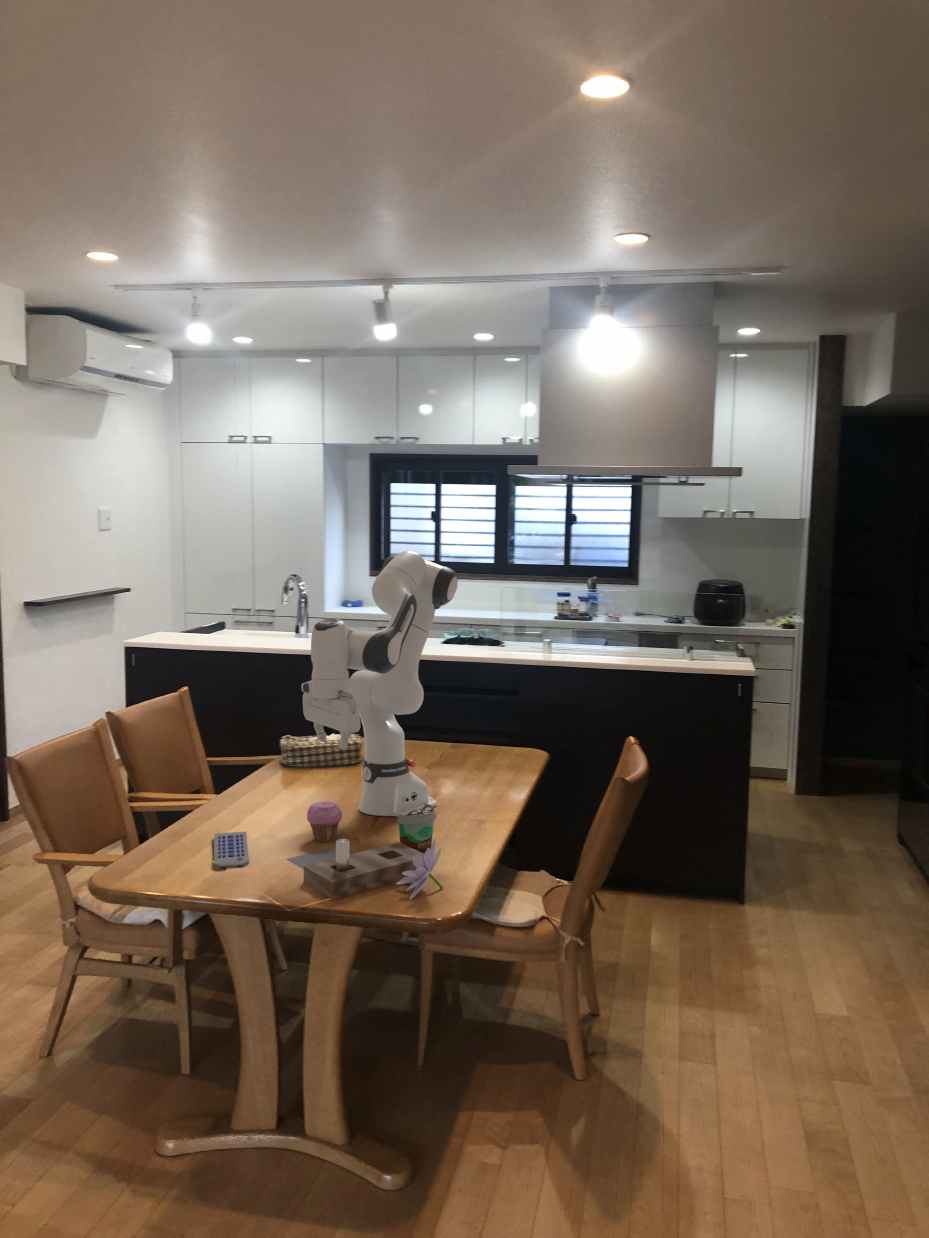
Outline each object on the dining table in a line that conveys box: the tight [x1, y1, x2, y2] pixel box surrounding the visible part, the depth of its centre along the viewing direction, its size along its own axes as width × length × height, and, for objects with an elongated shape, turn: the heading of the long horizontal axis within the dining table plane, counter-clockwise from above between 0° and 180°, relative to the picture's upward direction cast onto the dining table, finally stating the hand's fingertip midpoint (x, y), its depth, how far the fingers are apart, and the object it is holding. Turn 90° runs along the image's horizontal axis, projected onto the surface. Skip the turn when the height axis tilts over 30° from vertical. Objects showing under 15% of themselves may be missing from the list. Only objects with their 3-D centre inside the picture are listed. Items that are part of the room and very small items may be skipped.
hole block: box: [303, 841, 425, 901], centre depth 217 cm, size 26×12×4 cm, turn 130°
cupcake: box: [306, 800, 343, 843], centre depth 242 cm, size 9×9×10 cm
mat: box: [286, 848, 336, 870], centre depth 227 cm, size 12×12×1 cm
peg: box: [335, 838, 350, 872], centre depth 213 cm, size 3×3×10 cm
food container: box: [396, 803, 438, 854], centre depth 236 cm, size 12×6×10 cm, turn 148°
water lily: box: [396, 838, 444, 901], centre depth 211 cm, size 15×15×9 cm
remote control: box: [213, 831, 250, 871], centre depth 233 cm, size 8×23×2 cm, turn 14°
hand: (332, 744), depth 230 cm, fingers open, 8 cm apart
